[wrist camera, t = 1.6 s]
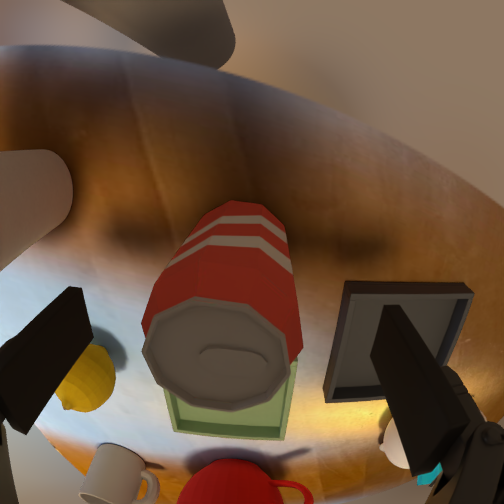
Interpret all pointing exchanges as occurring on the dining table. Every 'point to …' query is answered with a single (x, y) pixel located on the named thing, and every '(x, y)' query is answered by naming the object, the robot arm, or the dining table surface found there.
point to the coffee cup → (31, 199)
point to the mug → (397, 454)
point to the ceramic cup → (236, 485)
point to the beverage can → (225, 312)
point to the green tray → (236, 416)
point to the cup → (117, 478)
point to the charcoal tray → (366, 324)
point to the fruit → (88, 381)
